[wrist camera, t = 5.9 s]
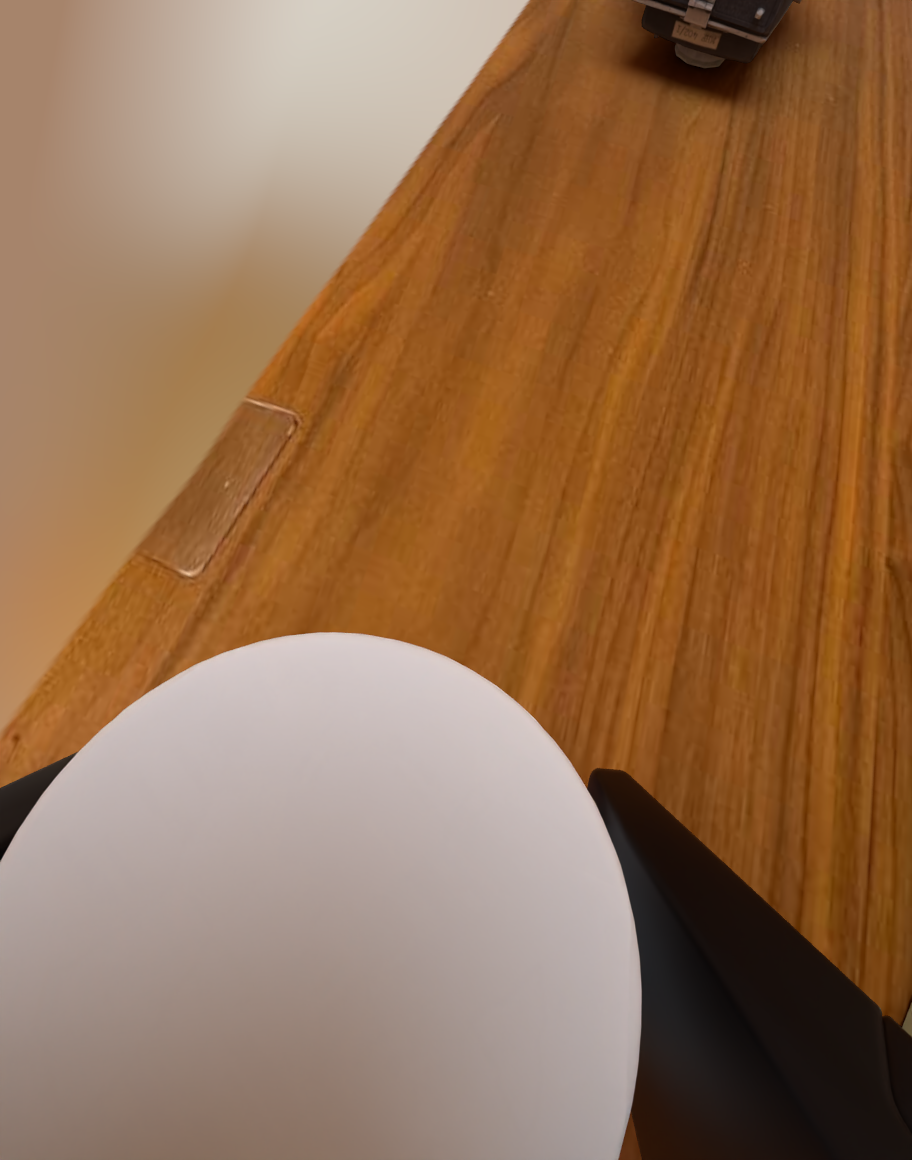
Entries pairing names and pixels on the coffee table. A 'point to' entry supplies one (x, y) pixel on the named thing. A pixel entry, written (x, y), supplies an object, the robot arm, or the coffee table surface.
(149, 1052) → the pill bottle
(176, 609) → the coffee table surface
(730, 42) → the camera
